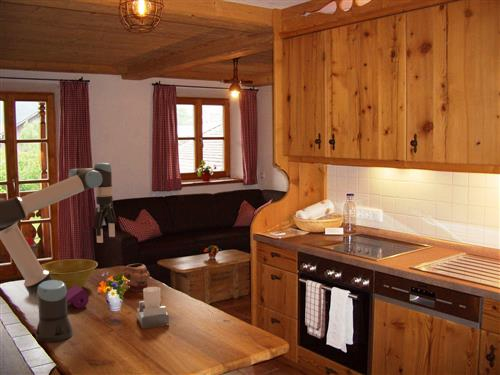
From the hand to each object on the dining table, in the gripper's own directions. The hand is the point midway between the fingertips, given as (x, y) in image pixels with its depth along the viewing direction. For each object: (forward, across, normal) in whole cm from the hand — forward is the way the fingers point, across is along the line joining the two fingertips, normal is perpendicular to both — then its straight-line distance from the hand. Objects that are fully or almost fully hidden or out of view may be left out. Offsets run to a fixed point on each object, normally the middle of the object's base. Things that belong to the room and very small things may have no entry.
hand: (106, 239), depth 257 cm
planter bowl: (+37, -36, -40) cm, 65 cm away
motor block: (+37, +8, +25) cm, 45 cm away
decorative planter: (+37, -40, -2) cm, 54 cm away
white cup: (+31, +8, +25) cm, 41 cm away
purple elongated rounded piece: (+37, -5, -25) cm, 45 cm away
